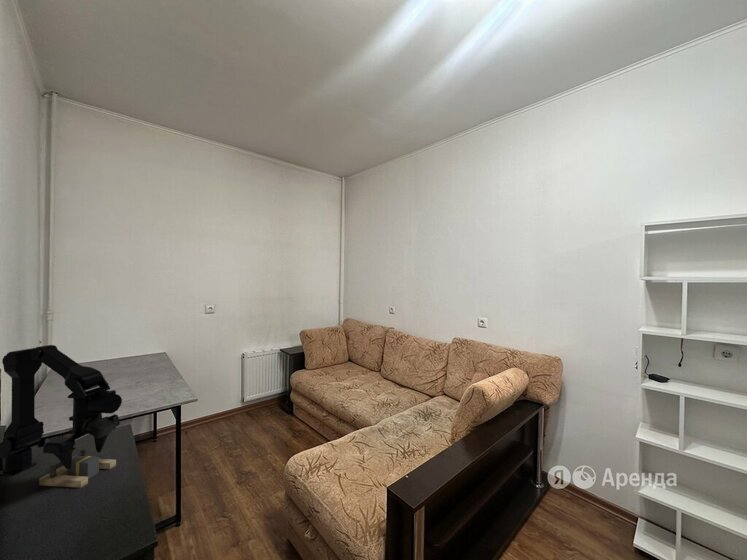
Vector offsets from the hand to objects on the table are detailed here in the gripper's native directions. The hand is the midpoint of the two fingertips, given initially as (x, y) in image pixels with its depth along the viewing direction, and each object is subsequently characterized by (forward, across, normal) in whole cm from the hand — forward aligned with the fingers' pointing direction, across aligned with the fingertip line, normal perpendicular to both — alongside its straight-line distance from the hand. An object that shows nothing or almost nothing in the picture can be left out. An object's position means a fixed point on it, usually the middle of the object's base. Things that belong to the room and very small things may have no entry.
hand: (84, 460), depth 95 cm
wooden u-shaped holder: (+5, 0, +2) cm, 5 cm away
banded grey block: (+5, 0, 0) cm, 5 cm away
